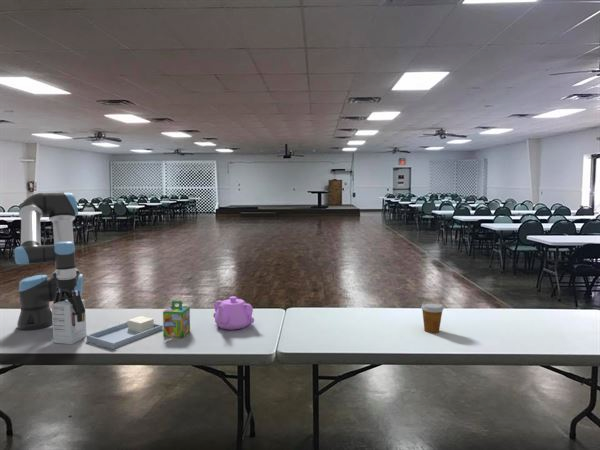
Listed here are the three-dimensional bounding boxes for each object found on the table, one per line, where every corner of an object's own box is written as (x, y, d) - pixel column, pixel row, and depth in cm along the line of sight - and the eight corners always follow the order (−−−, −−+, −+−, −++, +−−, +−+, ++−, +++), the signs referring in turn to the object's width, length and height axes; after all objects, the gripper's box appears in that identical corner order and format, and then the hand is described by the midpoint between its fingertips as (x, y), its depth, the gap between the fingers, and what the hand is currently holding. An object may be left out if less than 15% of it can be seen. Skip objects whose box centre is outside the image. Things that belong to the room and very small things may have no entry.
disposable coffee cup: (444, 329, 193) (444, 303, 192) (441, 335, 185) (442, 309, 184) (422, 326, 197) (423, 300, 196) (419, 332, 189) (419, 306, 188)
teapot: (197, 331, 192) (196, 302, 191) (223, 317, 212) (222, 290, 211) (239, 338, 184) (239, 307, 182) (262, 322, 204) (262, 294, 203)
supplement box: (71, 344, 178) (69, 305, 176) (52, 343, 180) (50, 304, 178) (87, 336, 187) (85, 299, 186) (69, 335, 189) (66, 298, 187)
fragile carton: (128, 329, 194) (127, 320, 193) (140, 325, 200) (140, 315, 199) (141, 333, 189) (140, 323, 189) (153, 328, 195) (153, 318, 195)
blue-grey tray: (86, 341, 181) (86, 335, 181) (136, 324, 203) (136, 318, 203) (113, 349, 172) (113, 343, 172) (162, 330, 194) (162, 325, 193)
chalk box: (163, 337, 185) (161, 304, 184) (171, 330, 194) (170, 298, 193) (183, 338, 184) (182, 304, 183) (190, 330, 194) (189, 299, 192)
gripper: (41, 276, 184) (44, 324, 186) (75, 283, 171) (78, 334, 173) (58, 273, 190) (61, 319, 192) (92, 279, 178) (95, 328, 180)
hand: (69, 326), depth 183 cm, fingers open, 13 cm apart
